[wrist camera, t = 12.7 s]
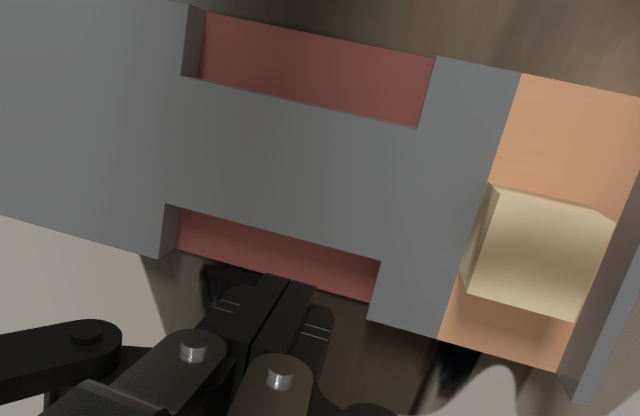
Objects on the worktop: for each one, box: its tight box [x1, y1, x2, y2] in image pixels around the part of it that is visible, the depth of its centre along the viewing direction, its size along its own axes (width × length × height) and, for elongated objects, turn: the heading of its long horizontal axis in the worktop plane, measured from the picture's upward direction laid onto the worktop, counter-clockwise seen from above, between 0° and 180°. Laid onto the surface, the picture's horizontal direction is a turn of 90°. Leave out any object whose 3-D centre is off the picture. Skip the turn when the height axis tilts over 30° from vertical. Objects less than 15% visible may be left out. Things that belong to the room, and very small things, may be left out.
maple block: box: [459, 181, 616, 323], centre depth 27 cm, size 6×6×4 cm
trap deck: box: [0, 0, 640, 407], centre depth 30 cm, size 18×44×6 cm, turn 78°
